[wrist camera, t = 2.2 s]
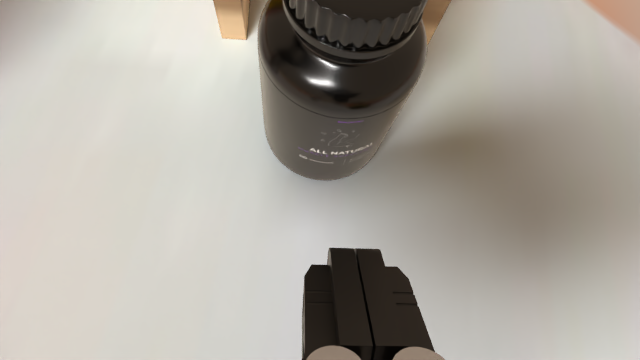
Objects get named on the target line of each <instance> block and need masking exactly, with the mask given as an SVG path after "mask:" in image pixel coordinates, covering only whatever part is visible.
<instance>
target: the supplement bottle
mask: <svg viewBox="0 0 640 360" xmlns="http://www.w3.org/2000/svg"><path fill="white" fill-rule="evenodd" d="M427 1H428V0H268V2H267V3H266V5H265V7H264V9H263V12H262V15H261V18H260V22H259V26H258V55H259V68H260V80H261V92H262V105H263V117H264V126H265V133H266V137H267V141H268V143H269V146H270V148H271V150H272V151H273V153H274V155H275V156H276V157H277V158H278V160H279V161H280V162H281V163H282V164H284V165H285V166H286V167H287V168H288V169H290V170H291V171H293V172H295V173H296V174H299V175H301V176H303V177H306V178H310V179H315V180H336V179H340V178H344V177H347V176H349V175H352V174H354V173H355V172H357V171H358V170H360V169H361V168H363V167H364V166H365V165H366V164H367V163H368V162H369V161H370V159H371V158H372V157H373V155H374V154H375V152H376V151H377V149H378V148H379V146H380V144H381V143H382V141H383V139H384V138H385V136H386V134H387V132H388V131H389V129H390V127H391V126H392V124H393V122H394V121H395V119H396V117H397V116H398V114H399V112H400V110H401V109H402V107H403V105H404V104H405V102H406V100H407V99H408V97H409V95H410V94H411V92H412V90H413V88H414V87H415V85H416V83H417V81H418V79H419V77H420V75H421V73H422V70H423V68H424V65H425V61H426V55H427V36H426V31H425V26H424V23H423V20H422V15H423V11H424V8H425V6H426V3H427Z"/></svg>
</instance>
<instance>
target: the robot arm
mask: <svg viewBox="0 0 640 360" xmlns="http://www.w3.org/2000/svg"><path fill="white" fill-rule="evenodd" d="M302 360H445V359H444V358H443V357H441V356H440V355H439V354H437V353H435V351H434V348H433V346H432V343H431V340H430V337H429V334H428V332H427V329H426V326H425V323H424V321H423V318H422V315H421V312H420V309H419V307H418V306H417V301H416V298H415V296H414V295H413V290H412V287H411V284H410V282H409V279H408V278H407V277H406V276H405V275H404V274H403V272H402V271H401V270H400V269H399V268H398V267H385V265H384V261H383V258H382V254H381V251H380V250H379V249H351V248H329V251H328V261H327V265H311V267H310V268H309V270H308V271H307V273H306V275H305V277H304V294H303V311H302Z"/></svg>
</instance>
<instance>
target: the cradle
mask: <svg viewBox="0 0 640 360" xmlns="http://www.w3.org/2000/svg"><path fill="white" fill-rule="evenodd" d="M213 1H214V6H215V10H216V14H217V18H218V23H219V27H220V31H221V35H222V38H226V39H241V40H246V37H247V26H248V15H249V4H250V0H213ZM450 1H451V0H428V1H427V3H426V6H425V8H424V11H423V15H422V20H423V23H424V26H425V31H426V36H427V45H428V43H429V41H430V39H431V37H432V36H433V34H434V32H435V30H436V28H437V26H438V24H439V22H440V20H441V18H442V16H443V15H444V13H445V11H446V9H447V7H448V5H449V3H450Z"/></svg>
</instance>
